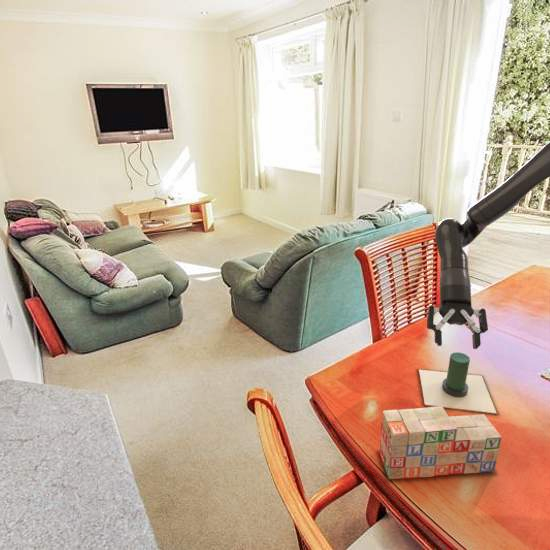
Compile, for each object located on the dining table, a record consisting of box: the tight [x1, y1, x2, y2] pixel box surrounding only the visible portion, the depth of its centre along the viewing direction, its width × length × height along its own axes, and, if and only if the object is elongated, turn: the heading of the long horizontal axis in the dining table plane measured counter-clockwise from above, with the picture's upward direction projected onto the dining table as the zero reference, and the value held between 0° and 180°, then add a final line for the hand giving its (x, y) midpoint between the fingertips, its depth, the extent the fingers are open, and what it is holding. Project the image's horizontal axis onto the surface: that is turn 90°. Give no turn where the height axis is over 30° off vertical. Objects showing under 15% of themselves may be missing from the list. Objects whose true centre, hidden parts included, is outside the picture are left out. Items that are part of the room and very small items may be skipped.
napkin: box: [418, 369, 498, 415], centre depth 97 cm, size 16×14×1 cm
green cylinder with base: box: [442, 352, 471, 397], centre depth 95 cm, size 6×6×10 cm
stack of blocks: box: [379, 406, 502, 480], centre depth 75 cm, size 21×6×12 cm, turn 92°
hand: (457, 346), depth 96 cm, fingers open, 8 cm apart
